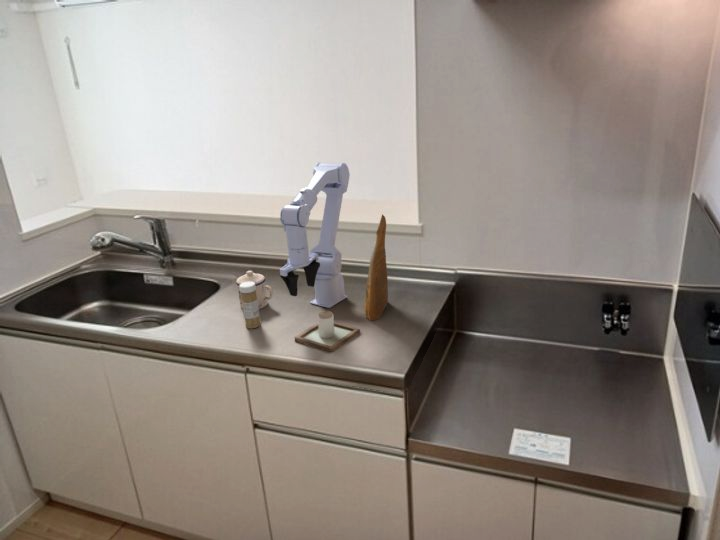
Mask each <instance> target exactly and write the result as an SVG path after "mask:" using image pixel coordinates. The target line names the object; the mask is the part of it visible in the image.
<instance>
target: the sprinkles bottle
mask: <svg viewBox="0 0 720 540" xmlns="http://www.w3.org/2000/svg"><path fill="white" fill-rule="evenodd" d="M239 287H240V292H241V296H242V305H243V309H242V310H243V316H244V322H245V327H246V328H247V329H256V328H258V327H260V326H261V324H262V323H261V321H260V320H261V318H260V309H259V308H258V301H257V297H256V286H255V283H254V282H244V283H241V284H240V286H239Z"/></svg>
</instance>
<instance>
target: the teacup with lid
mask: <svg viewBox="0 0 720 540" xmlns="http://www.w3.org/2000/svg"><path fill="white" fill-rule="evenodd" d="M244 282H254V283H255V286H256V297H257V301H258V308H259V310H260V309H263V308H265V307H266V306H267V305H268V303H269V302H268V301H269V300H271V299H272V298H273V295H274V289H273V288H272V287H271V286H270V285H267V284H266V278H265V276H264V275H263V274H260V273H255V272H254V271H253V270H247V271H246V273H245V274H244V275H241V276H239V277H238V278H237V279H236V285H237V291H238V298H239V305H240V309H242V310H243V305H242V296H241V292H240V287H239V286H240V284H241V283H244ZM267 290H268V291H269V297H268V296H267Z"/></svg>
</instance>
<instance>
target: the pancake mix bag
mask: <svg viewBox="0 0 720 540" xmlns="http://www.w3.org/2000/svg"><path fill="white" fill-rule="evenodd" d="M386 219H387V218H386V217H385V215H384V214H383V213H382V214H381V217H380V220H379V223H378V225H377V229H376V230H377V231H376V233H375V237H374V238H375V239H374V243H373V246H372V249H371V256H370V261H369V266H368V273H367V279H366V281H367V282H366V289H365V290H366V292H365V304H364V313H365V314H364V315H365V319H369V322H372V321H375V320H378V319H380V318H381V317H382V315H383V313H384V311H385V309H386V308H387V305H388V303H389V285H388V284H389V283H388V281H389V280H388V279H389V278H388V269H387V267H388V266H387V255H386V254H387V253H386V246H385V245H386V244H385V243H386V232H387V231H386V230H387V220H386Z"/></svg>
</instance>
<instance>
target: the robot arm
mask: <svg viewBox="0 0 720 540" xmlns="http://www.w3.org/2000/svg"><path fill="white" fill-rule="evenodd" d="M312 171H313V172H312V174H313V175H312V178H311V180H310V182H309V183H308V185H307V187H305V188H300V190H299V192H298V193H297V194H296V196H295V197H294V198H293V199H292V201H291V203H290V204H286V205H285V206H283V207H282V208H281V210H280V213H279V214H280V215H279V221H280V224H281V225H282V227H283V231H284V232H285V234H286V243H287V244H286V245H287V253H288V258H287V263H286V264H285V265H284V266H282V267H281V268H279V276H280V278H281V279H282V281H283V282H284V284H285V285H286V288H287V289H288V292H289V295H290V296H292V297H297V296H298V280H299V277H300V275H299V274H295V271H297V270H299V269H301V268H303V270H304V274H305V279H306V285H307V286H308V287H310V288H311V287H312V288H314V295H315V298H314V299H313V300H311V301H310V302H309V303H310V304H312V305H315V306H320V307H324V308H327V309H329V308H332V307H334V306H335V305H338V304H339V303H340V302H341V301H344V300H345V299H346V298H348V296H347V295H345V293H346V292H345V281H344V277H343V275H342V273H341V270H342V264H343V263H342V252H341V251H340V250H339V249H338V248H337V247H336V246H335V245H336V240H337V233H338V227H339V221H340V215H341V214H340V213H341V211H342V210H341V208H342V202H343V198H344V197H343V195H344V194H345V193H347V191H348V187H349V181H350V175H351V174H350V169H349V167H348V165H347V163H345V162H341V163H340V162H339V163H337V162H336V163H335V162H334V163H333V162H331V163H330V162H317V163H316V164H315V165H314V167H313V169H312ZM320 192H324V194H325V196H326V199H325V204H324V209H323V214H322V215H323V216H322V222H321V227H320V228H321V229H320V233H319V240H318V244H315V246H313V247H312V248H311V249H310V251H309V244H308V234H307V225H308V223H309V220H310V215H311V211H312V210H313V208H315V207H314V206H315V205H316V204H317V202H318V194H319V193H320Z"/></svg>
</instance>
